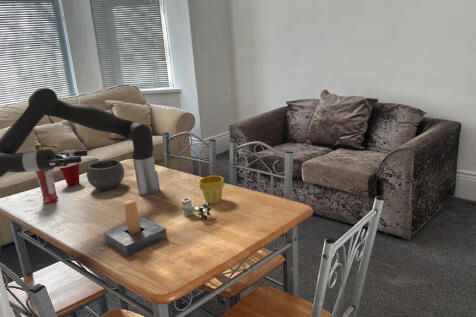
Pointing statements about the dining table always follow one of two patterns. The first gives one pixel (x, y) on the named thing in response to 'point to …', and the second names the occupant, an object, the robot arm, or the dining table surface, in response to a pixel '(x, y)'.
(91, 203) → the dining table surface
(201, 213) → the valve
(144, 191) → the robot arm
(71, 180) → the plastic cup
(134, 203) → the peg
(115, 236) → the socket block
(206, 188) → the plant pot
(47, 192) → the sauce bottle
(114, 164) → the bowl
